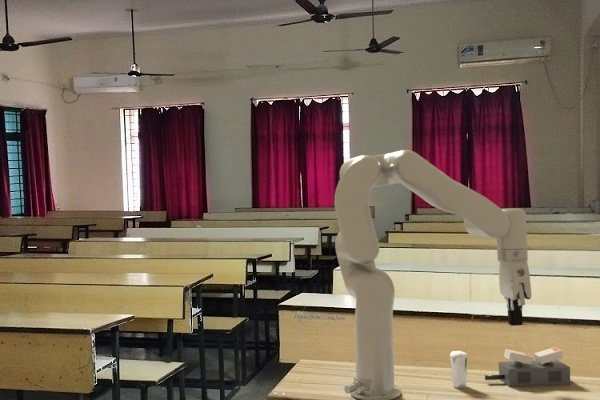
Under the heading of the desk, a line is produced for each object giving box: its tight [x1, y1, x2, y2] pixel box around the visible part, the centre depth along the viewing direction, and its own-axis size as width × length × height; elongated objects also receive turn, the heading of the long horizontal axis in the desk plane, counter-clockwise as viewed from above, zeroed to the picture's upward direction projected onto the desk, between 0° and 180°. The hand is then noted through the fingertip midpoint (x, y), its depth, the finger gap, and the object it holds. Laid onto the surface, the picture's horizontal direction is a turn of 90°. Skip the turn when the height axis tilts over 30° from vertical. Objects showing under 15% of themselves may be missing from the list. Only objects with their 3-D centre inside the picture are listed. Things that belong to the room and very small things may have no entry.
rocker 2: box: [533, 346, 564, 364], centre depth 158 cm, size 6×4×2 cm, turn 93°
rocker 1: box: [503, 348, 534, 364], centre depth 157 cm, size 6×4×2 cm, turn 92°
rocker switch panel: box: [484, 359, 571, 388], centre depth 157 cm, size 21×7×5 cm, turn 92°
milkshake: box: [449, 347, 472, 389], centre depth 155 cm, size 4×5×10 cm
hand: (515, 324), depth 158 cm, fingers closed
